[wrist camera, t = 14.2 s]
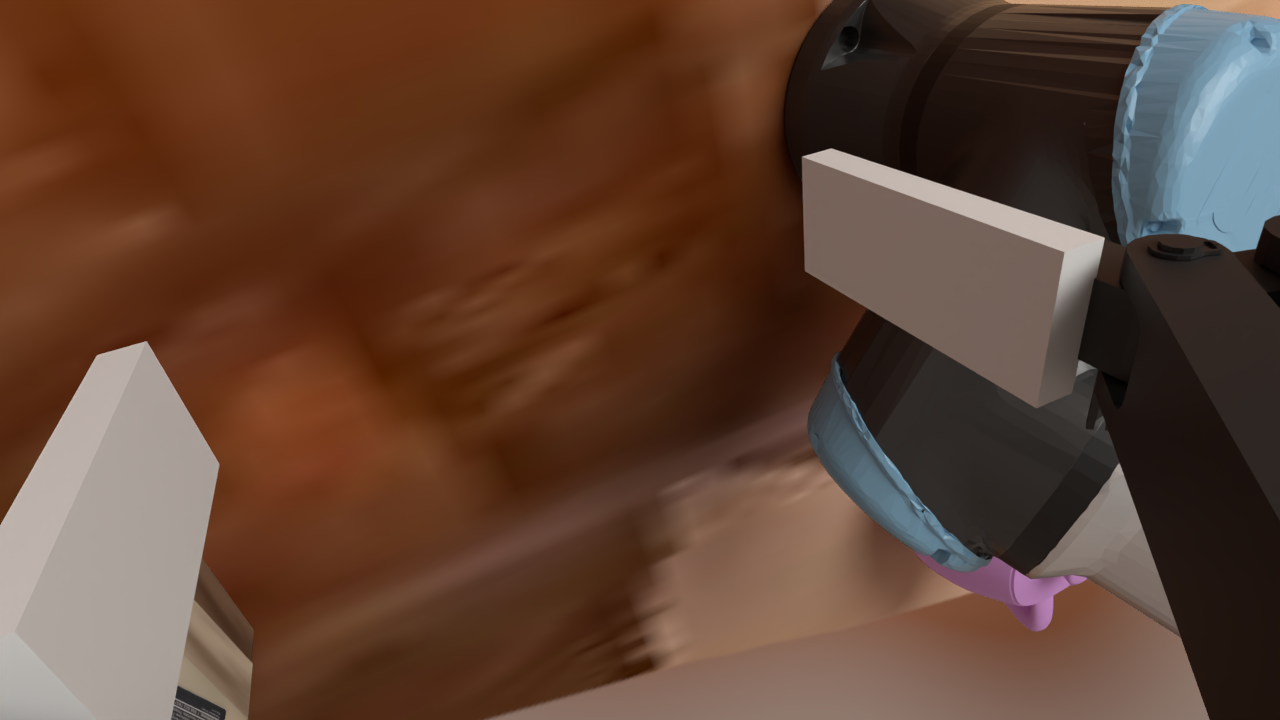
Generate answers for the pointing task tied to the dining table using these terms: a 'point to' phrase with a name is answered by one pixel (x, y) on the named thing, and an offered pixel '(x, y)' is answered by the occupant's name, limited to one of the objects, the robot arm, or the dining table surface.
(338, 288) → the dining table surface
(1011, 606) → the teapot
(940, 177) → the robot arm
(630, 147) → the dining table surface
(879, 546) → the dining table surface
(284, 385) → the dining table surface
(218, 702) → the tower top block
